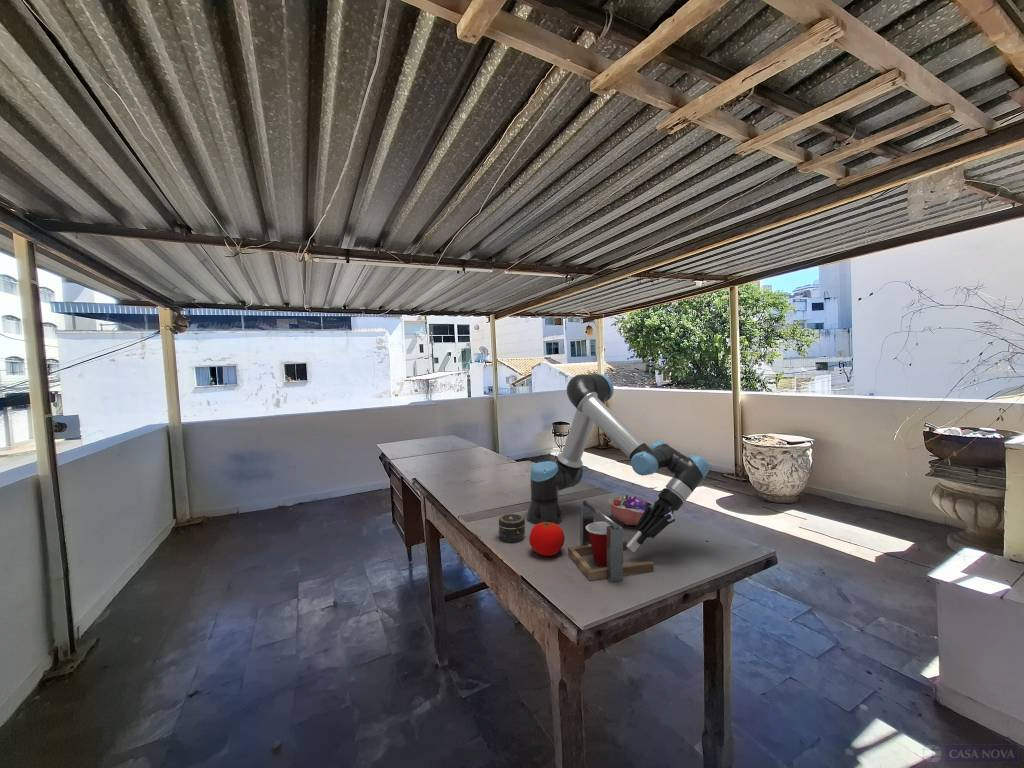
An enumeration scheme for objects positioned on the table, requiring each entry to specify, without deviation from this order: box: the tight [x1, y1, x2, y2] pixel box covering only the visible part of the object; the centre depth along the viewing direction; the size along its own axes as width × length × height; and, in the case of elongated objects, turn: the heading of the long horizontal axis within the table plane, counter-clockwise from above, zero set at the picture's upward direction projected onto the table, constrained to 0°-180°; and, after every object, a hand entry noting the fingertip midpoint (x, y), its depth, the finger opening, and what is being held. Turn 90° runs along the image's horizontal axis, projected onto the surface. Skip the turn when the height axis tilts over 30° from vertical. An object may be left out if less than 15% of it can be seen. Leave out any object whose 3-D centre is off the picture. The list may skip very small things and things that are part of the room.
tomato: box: [528, 522, 566, 557], centre depth 134 cm, size 11×12×10 cm
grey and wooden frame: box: [567, 500, 655, 584], centre depth 127 cm, size 22×22×17 cm
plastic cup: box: [586, 521, 610, 567], centre depth 127 cm, size 11×11×12 cm
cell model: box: [608, 494, 655, 527], centre depth 160 cm, size 17×20×11 cm
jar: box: [498, 513, 526, 544], centre depth 147 cm, size 10×10×8 cm
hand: (630, 549), depth 128 cm, fingers closed
